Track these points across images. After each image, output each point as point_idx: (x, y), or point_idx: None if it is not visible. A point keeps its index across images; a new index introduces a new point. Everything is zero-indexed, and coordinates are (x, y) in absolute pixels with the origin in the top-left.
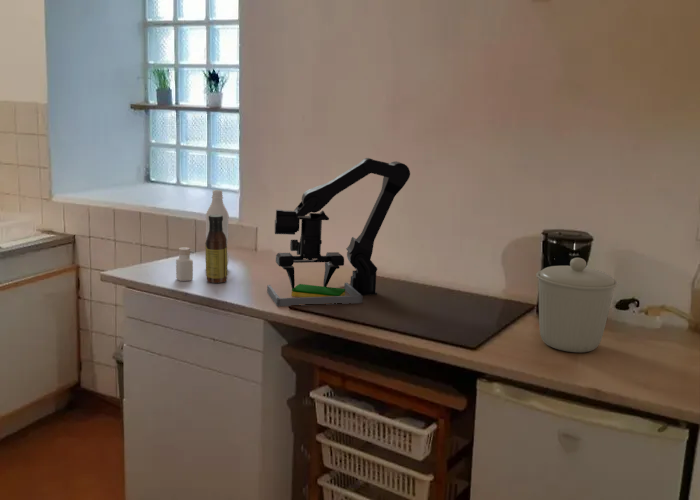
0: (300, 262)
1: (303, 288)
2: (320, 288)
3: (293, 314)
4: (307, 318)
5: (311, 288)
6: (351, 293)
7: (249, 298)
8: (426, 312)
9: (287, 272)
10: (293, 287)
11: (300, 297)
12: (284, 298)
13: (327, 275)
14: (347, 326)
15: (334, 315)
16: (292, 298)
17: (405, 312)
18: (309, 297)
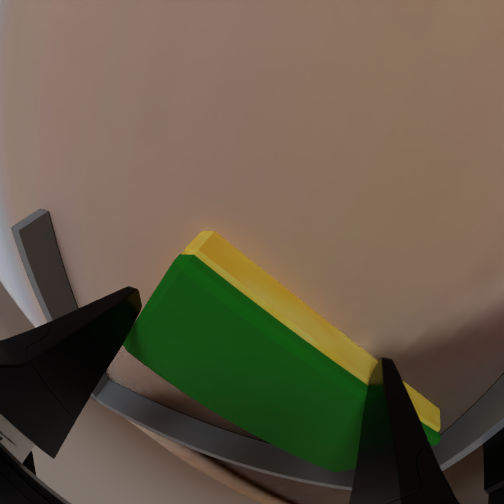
0: (58, 495)
1: (188, 371)
2: (303, 413)
3: (150, 431)
4: (180, 455)
5: (242, 391)
6: (453, 434)
7: (19, 272)
8: (461, 500)
9: (21, 344)
10: (129, 321)
11: (159, 431)
12: (109, 407)
13: (352, 496)
14: (250, 493)
15: (250, 476)
16: (133, 421)
17: None
18: (192, 447)
